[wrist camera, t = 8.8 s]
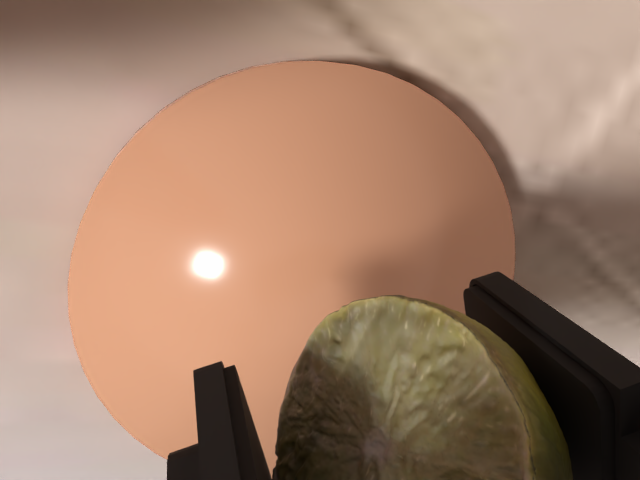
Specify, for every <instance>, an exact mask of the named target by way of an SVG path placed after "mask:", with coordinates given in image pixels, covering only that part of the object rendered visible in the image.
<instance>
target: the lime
mask: <svg viewBox="0 0 640 480" xmlns="http://www.w3.org/2000/svg"><path fill="white" fill-rule="evenodd" d="M275 454H276V456H277V457H278V459H277V460H276V466H275V467H274V468H273V475H272V480H573V474H572V468H571V460H570V456H569V449H568V445H567V443H566V441H565V438H564V435H563V432H562V430H561V428H560V426H559V423H558V421H557V419H556V416H555V414H554V412H553V410H552V409H551V407H550V405H549V404H548V402H547V400H546V398H545V396H544V394H543V393H542V391H541V389H540V388H539V386H538V384H537V382H536V381H535V379H534V377H533V375H532V374H531V372H530V371H529V369H528V367H527V366H526V364H525V363H524V361H523V360H522V359H521V357H520V356H519V355H518V354H517V353H516V352H515V351H514V349H512V348H511V347H510V346H509V345H508V344H507V343H506V342H504V341H503V340H502V339H501V338H500V337H498V336H497V335H496V334H494V333H493V332H492V331H491V330H490V329H489V328H487V327H485V326H483V325H482V324H481V323H478V322H477V321H476V320H474V319H471V318H469V317H468V316H466V315H465V314H463V313H460V312H459V311H455V310H452V309H449V308H447V307H445V306H443V305H440V304H438V303H434V302H430V301H428V300H422V299H418V298H410V297H406V296H403V295H384V296H383V295H382V296H379V297H372V298H366V299H359V300H355V301H352V302H350V303H349V304H348V305H344V306H342V307H341V308H340V310H338V311H335V312H333V313H330V314H328V315H327V316H326V317H325V318H324V319H323V321H322V322H320V324H319V325H318V326H317V327H316V328H315V329H314V331H313V332H312V334H311V335H310V337H309V339H308V341H307V343H306V345H305V347H304V349H303V351H302V353H301V354H300V356H299V358H298V360H297V362H296V364H295V366H294V368H293V370H292V372H291V375H290V378H289V381H288V384H287V388H286V392H285V396H284V400H283V402H282V404H281V407H280V412H279V419H278V428H277V441H276V445H275Z"/></svg>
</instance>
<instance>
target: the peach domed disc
mask: <svg viewBox="0 0 640 480" xmlns="http://www.w3.org/2000/svg"><path fill="white" fill-rule="evenodd" d="M514 269H515V233H514V227H513V220H512V214H511V209H510V205H509V202H508V198H507V195H506V192H505V188H504V185H503V183H502V181H501V179H500V176H499V174H498V172H497V170H496V168H495V165H494V163H493V161H492V160H491V158H490V157H489V155H488V153H487V152H486V150H485V149H484V147H483V146H482V144H481V143H480V141H479V139H478V138H477V137H476V136H475V135H474V134H473V133H472V131H471V130H470V129H469V128H468V127H467V126H466V125H465V123H464V122H463V121H462V120H461V119H460V118H459V117H458V116H457V115H456V114H454V113H453V112H452V111H451V110H450V109H448V108H447V107H446V106H445V105H444V104H442V103H441V102H440V101H439V100H437V99H436V98H434V97H433V96H431V95H429V94H428V93H426V92H425V91H423V90H421V89H420V88H418V87H416V86H415V85H413V84H411V83H408V82H406V81H404V80H401V79H399V78H397V77H394V76H392V75H390V74H387V73H384V72H380V71H377V70H373V69H369V68H365V67H361V66H358V65H351V64H343V63H334V62H325V61H282V62H276V63H270V64H264V65H258V66H252V67H248V68H245V69H242V70H239V71H236V72H232V73H229V74H226V75H223V76H220V77H218V78H216V79H213V80H211V81H209V82H207V83H205V84H203V85H201V86H199V87H197V88H195V89H192V90H190V91H189V92H187V93H186V94H184V95H183V96H181V97H180V98H178V99H177V100H175V101H174V102H172V103H171V104H169V105H167V106H166V107H164V108H163V109H162V110H160V111H159V112H158V113H157V114H156V115H155V116H154V117H153V118H151V119H150V120H149V121H148V122H147V123H146V124H145V125H143V126H142V127H141V128H140V129H139V130H138V131H137V132H136V133H135V134H134V135H133V137H132V138H131V139H130V140H129V141H128V142H127V144H126V145H125V146H124V147H123V148H122V149H121V151H120V152H119V153H118V154H117V155H116V157H115V158H114V160H113V161H112V163H111V165H110V166H109V168H108V169H107V171H106V172H105V174H104V176H103V177H102V179H101V180H100V182H99V184H98V186H97V187H96V189H95V191H94V193H93V196H92V198H91V200H90V202H89V204H88V207H87V209H86V211H85V213H84V216H83V218H82V220H81V222H80V226H79V229H78V233H77V236H76V240H75V244H74V247H73V251H72V255H71V263H70V271H69V279H68V307H69V320H70V325H71V330H72V335H73V340H74V345H75V348H76V351H77V354H78V356H79V359H80V362H81V365H82V368H83V370H84V373H85V375H86V376H87V378H88V380H89V382H90V384H91V386H92V387H93V389H94V391H95V393H96V395H97V397H98V398H99V399H100V401H101V402H102V403H103V404H104V406H105V407H106V408H107V410H108V411H109V412H110V414H111V415H112V416H113V418H114V419H115V420H116V421H117V422H118V423H119V424H120V425H121V426H122V427H123V428H124V429H125V430H126V431H128V432H129V433H130V434H131V435H132V436H133V437H134V438H135V439H136V440H138V441H139V442H141V443H142V444H143V445H145V446H146V447H147V448H149V449H150V450H151V451H153V452H154V453H156V454H158V455H159V456H161V457H163V458H165V459H168V455H169V453H171V452H174V451H177V450H180V449H183V448H186V447H188V446H191V445H194V444H197V443H198V435H197V420H196V406H195V392H194V377H193V370H195V369H198V368H201V367H204V366H207V365H210V364H213V363H217V362H220V361H222V362H223V365H224V367H225V368H226V367H229V366H232V365H235V367H236V369H237V372H238V375H239V379H240V382H241V385H242V388H243V391H244V394H245V397H246V400H247V403H248V406H249V409H250V412H251V416H252V419H253V422H254V425H255V428H256V431H257V434H258V437H259V440H260V443H261V446H262V450H263V453H264V456H265V459H266V462H267V465H268V468H269V471H270V474H271V478H272V475H273V468H274V467H275V466H276V460H277V459H278V457H277V456H276V454H275V445H276V441H277V428H278V419H279V412H280V407H281V404H282V402H283V400H284V396H285V392H286V388H287V384H288V381H289V378H290V375H291V372H292V370H293V368H294V366H295V364H296V362H297V360H298V358H299V356H300V354H301V353H302V351H303V349H304V347H305V345H306V343H307V341H308V339H309V337H310V335H311V334H312V332H313V331H314V329H315V328H316V327H317V326H318V325H319V324H320V322H322V321H323V319H324V318H325V317H326V316H327V315H328V314H330V313H333V312H335V311H338V310H340V308H341V307H342V306H344V305H348V304H349V303H350V302H352V301H355V300H359V299H366V298H372V297H379V296H382V295H383V296H384V295H403V296H406V297H410V298H418V299H422V300H428V301H430V302H434V303H438V304H440V305H443V306H445V307H447V308H449V309H452V310H455V311H459V312H460V313H463V314H465V315H466V313H465V306H464V298H463V292H464V290H465V289H467V288H469V284H470V281H471V280H472V279H475V278H478V277H481V276H484V275H487V274H490V273H493V272H497V271H498V272H501V273H502V274H504V275H505V276H507V277H508V278H510V279H511V280H513V278H514Z"/></svg>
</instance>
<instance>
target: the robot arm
mask: <svg viewBox="0 0 640 480" xmlns="http://www.w3.org/2000/svg"><path fill="white" fill-rule="evenodd" d="M463 298H464V306H465V313H466V316H468V317H469V318H471V319H474V320H476V321H477V322H478V323H481V324H482V325H483V326H485V327H487V328H489V329H490V330H491V331H492V332H493V333H494V334H496V335H497V336H498V337H500V338H501V339H502V340H503V341H504V342H506V343H507V344H508V345H509V346H510V347H511V348H512V349H514V351H515V352H516V353H517V354H518V355H519V356H520V357H521V359H522V360H523V361H524V363H525V364H526V366H527V367H528V369H529V371H530V372H531V374H532V375H533V377H534V379H535V381H536V382H537V384H538V386H539V388H540V389H541V391H542V393H543V394H544V396H545V398H546V400H547V402H548V404H549V405H550V407H551V409H552V410H553V412H554V414H555V416H556V419H557V421H558V423H559V426H560V428H561V430H562V432H563V435H564V438H565V441H566V443H567V445H568V449H569V456H570V460H571V468H572V474H573V480H640V367H638V366H637V365H635V364H634V363H632V362H631V361H629V360H628V359H627V358H625V357H624V356H622V355H621V354H619V353H618V352H616V351H615V350H613V349H612V348H610V347H609V346H608V345H606V344H605V343H603V342H602V341H600V340H599V339H597V338H596V337H594V336H593V335H591V334H590V333H589V332H587V331H586V330H584V329H583V328H581V327H580V326H578V325H577V324H575V323H574V322H572V321H571V320H570V319H568V318H567V317H565V316H564V315H562V314H561V313H559V312H558V311H556V310H555V309H553V308H552V307H551V306H549V305H548V304H546V303H545V302H543V301H542V300H540V299H539V298H537V297H536V296H534V295H533V294H532V293H530V292H529V291H527V290H526V289H524V288H523V287H521V286H520V285H518V284H517V283H516V282H514V281H513V280H511V279H510V278H508V277H507V276H505V275H504V274H502V273H501V272H498V271H497V272H493V273H490V274H487V275H484V276H481V277H478V278H475V279H472V280H471V281H470V284H469V288H467V289H465V290H464V292H463ZM193 377H194V392H195V406H196V420H197V435H198V443H197V444H194V445H191V446H188V447H186V448H183V449H180V450H177V451H174V452H171V453H169V455H168V459H167V480H272V478H271V474H270V471H269V468H268V465H267V462H266V459H265V456H264V453H263V450H262V446H261V443H260V440H259V437H258V434H257V431H256V428H255V425H254V422H253V419H252V416H251V412H250V409H249V406H248V403H247V400H246V397H245V394H244V391H243V388H242V385H241V382H240V379H239V375H238V372H237V369H236V367H235V365H232V366H229V367H226V368H225V367H224V365H223V362H222V361H220V362H217V363H213V364H210V365H207V366H204V367H201V368H198V369H195V370H193Z"/></svg>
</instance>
